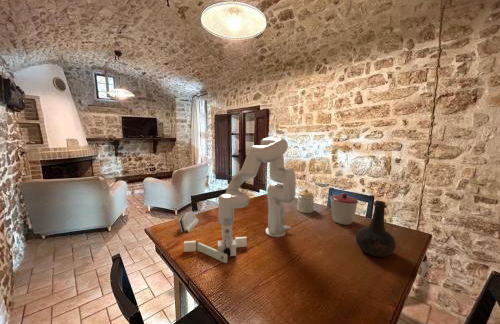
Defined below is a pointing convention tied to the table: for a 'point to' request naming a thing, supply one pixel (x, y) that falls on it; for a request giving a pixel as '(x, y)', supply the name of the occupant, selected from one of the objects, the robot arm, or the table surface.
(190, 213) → the hinge
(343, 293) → the table surface
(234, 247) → the block
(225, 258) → the door
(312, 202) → the jar
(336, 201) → the canister
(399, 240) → the table surface
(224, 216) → the robot arm
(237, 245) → the notched cream block
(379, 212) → the glass bottle
